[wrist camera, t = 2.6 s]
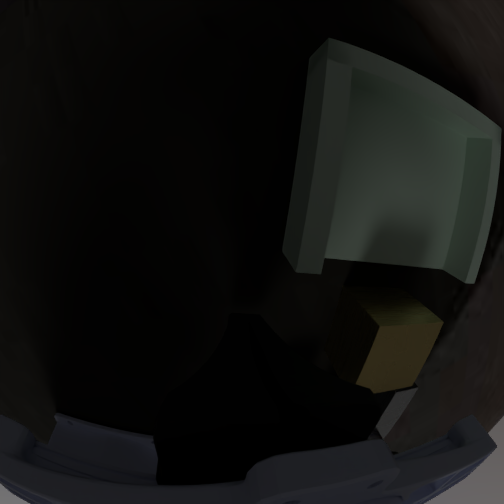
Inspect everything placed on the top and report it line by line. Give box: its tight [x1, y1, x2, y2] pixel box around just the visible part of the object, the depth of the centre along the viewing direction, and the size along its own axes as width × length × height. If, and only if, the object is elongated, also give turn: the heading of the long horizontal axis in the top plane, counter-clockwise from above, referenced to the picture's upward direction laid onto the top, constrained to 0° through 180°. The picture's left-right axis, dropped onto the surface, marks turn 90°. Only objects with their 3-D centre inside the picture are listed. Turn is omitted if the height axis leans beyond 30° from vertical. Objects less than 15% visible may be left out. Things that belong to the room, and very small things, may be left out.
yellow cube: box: [324, 286, 443, 393], centre depth 13 cm, size 4×4×4 cm
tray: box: [282, 38, 501, 283], centre depth 11 cm, size 11×9×2 cm
